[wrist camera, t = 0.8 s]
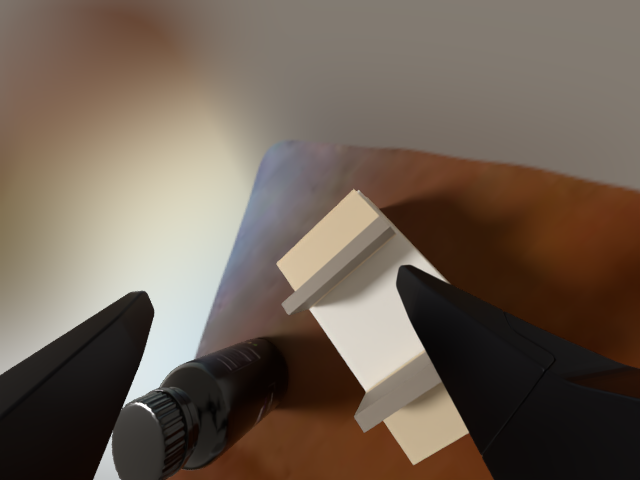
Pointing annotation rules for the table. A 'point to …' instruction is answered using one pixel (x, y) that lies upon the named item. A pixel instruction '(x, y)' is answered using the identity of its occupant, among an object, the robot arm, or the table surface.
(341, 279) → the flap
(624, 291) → the table surface
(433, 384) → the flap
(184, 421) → the supplement bottle
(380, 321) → the carton
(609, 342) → the table surface
